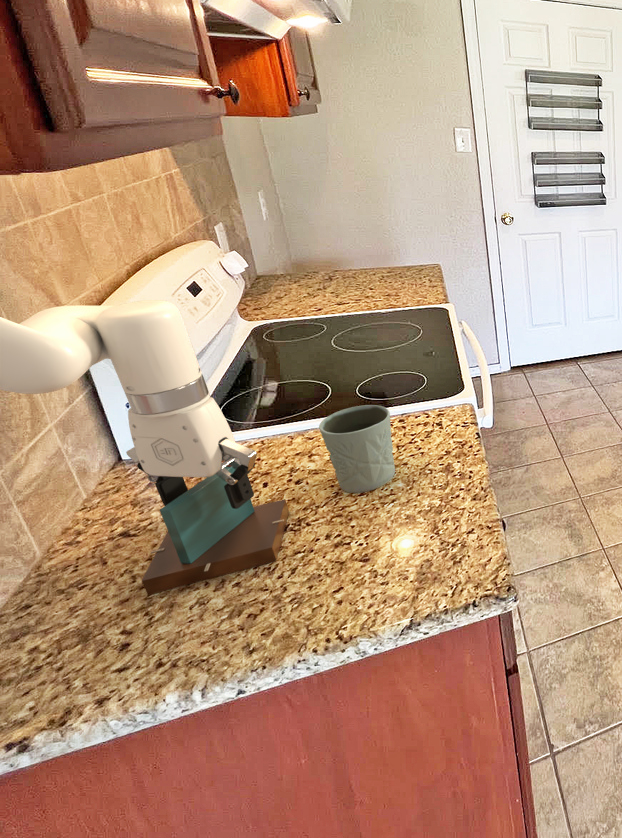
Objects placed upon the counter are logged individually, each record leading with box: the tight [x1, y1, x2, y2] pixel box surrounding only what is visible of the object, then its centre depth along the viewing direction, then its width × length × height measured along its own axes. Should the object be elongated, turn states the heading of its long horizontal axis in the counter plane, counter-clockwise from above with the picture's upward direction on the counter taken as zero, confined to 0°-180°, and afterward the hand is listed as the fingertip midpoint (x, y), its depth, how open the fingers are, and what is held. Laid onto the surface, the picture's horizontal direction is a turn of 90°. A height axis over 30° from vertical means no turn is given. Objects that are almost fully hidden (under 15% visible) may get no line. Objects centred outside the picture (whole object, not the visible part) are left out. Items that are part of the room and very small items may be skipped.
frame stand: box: [141, 499, 290, 596], centre depth 83 cm, size 15×15×3 cm
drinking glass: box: [318, 404, 396, 494], centre depth 99 cm, size 10×10×12 cm
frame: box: [159, 465, 254, 564], centre depth 81 cm, size 11×1×9 cm, turn 178°
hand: (210, 501), depth 81 cm, fingers open, 9 cm apart
